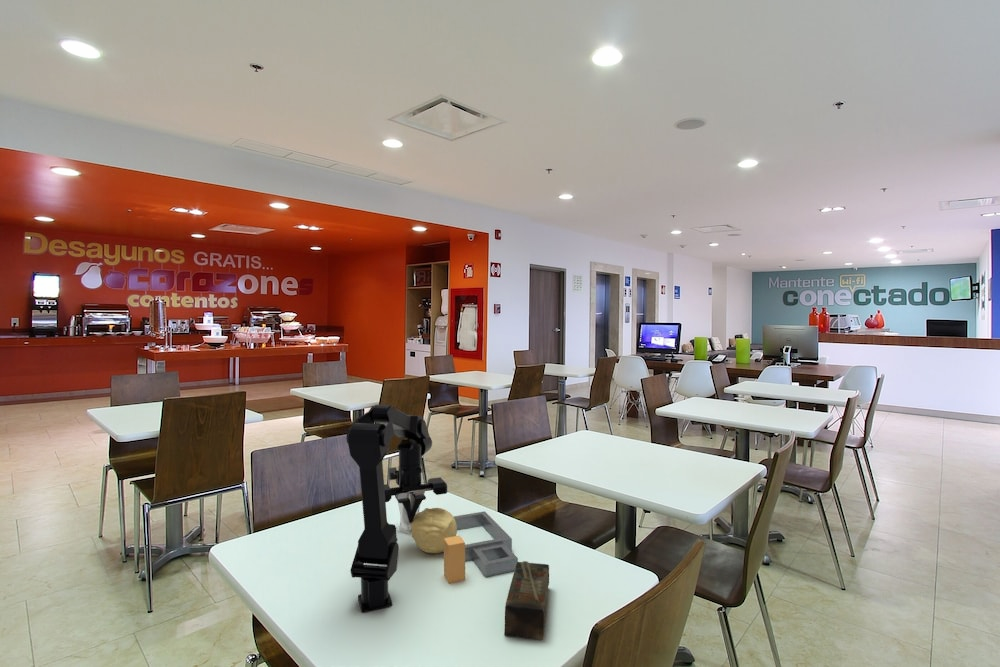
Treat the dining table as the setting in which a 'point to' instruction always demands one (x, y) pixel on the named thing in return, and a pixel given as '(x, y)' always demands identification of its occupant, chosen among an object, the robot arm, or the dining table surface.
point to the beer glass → (405, 518)
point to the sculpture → (433, 529)
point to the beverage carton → (527, 601)
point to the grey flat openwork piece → (488, 545)
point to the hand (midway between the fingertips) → (410, 521)
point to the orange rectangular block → (454, 559)
